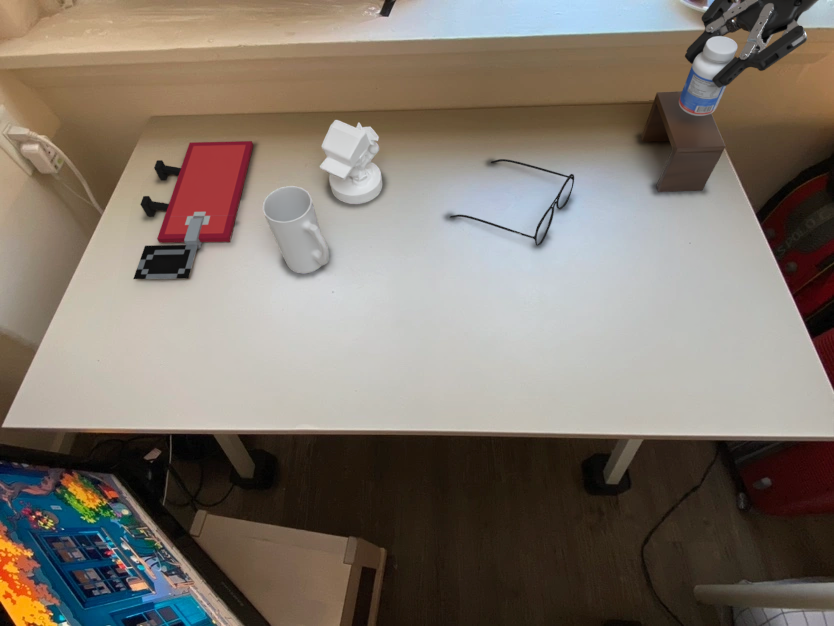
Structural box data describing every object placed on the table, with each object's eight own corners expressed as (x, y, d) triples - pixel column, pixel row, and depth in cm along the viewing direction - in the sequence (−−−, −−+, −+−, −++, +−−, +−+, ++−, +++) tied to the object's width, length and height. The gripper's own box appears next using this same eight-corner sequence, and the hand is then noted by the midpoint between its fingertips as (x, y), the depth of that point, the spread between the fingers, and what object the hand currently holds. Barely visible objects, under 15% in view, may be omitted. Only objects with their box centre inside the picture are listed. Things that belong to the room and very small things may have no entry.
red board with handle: (123, 283, 85) (221, 281, 84) (114, 271, 83) (215, 270, 82) (172, 149, 101) (254, 147, 101) (165, 136, 99) (249, 134, 98)
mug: (275, 259, 86) (252, 206, 76) (307, 233, 89) (289, 178, 79) (319, 294, 82) (300, 243, 72) (351, 266, 85) (338, 212, 75)
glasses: (535, 253, 84) (536, 230, 80) (450, 225, 90) (447, 202, 86) (573, 192, 90) (576, 168, 86) (491, 169, 96) (490, 146, 92)
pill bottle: (690, 89, 85) (715, 27, 77) (723, 104, 83) (752, 42, 75) (670, 106, 84) (693, 45, 75) (703, 122, 81) (730, 61, 73)
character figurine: (392, 179, 94) (385, 120, 84) (358, 215, 90) (347, 158, 80) (351, 160, 97) (339, 102, 87) (316, 195, 93) (300, 138, 83)
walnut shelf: (702, 190, 89) (725, 146, 82) (657, 192, 90) (677, 148, 82) (681, 135, 96) (701, 90, 89) (640, 137, 96) (656, 92, 89)
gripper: (770, -84, 71) (660, 32, 79) (859, -32, 63) (727, 90, 71) (784, -49, 76) (679, 56, 84) (867, 3, 69) (743, 112, 77)
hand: (702, 71), depth 78 cm, fingers closed on pill bottle, 5 cm apart
